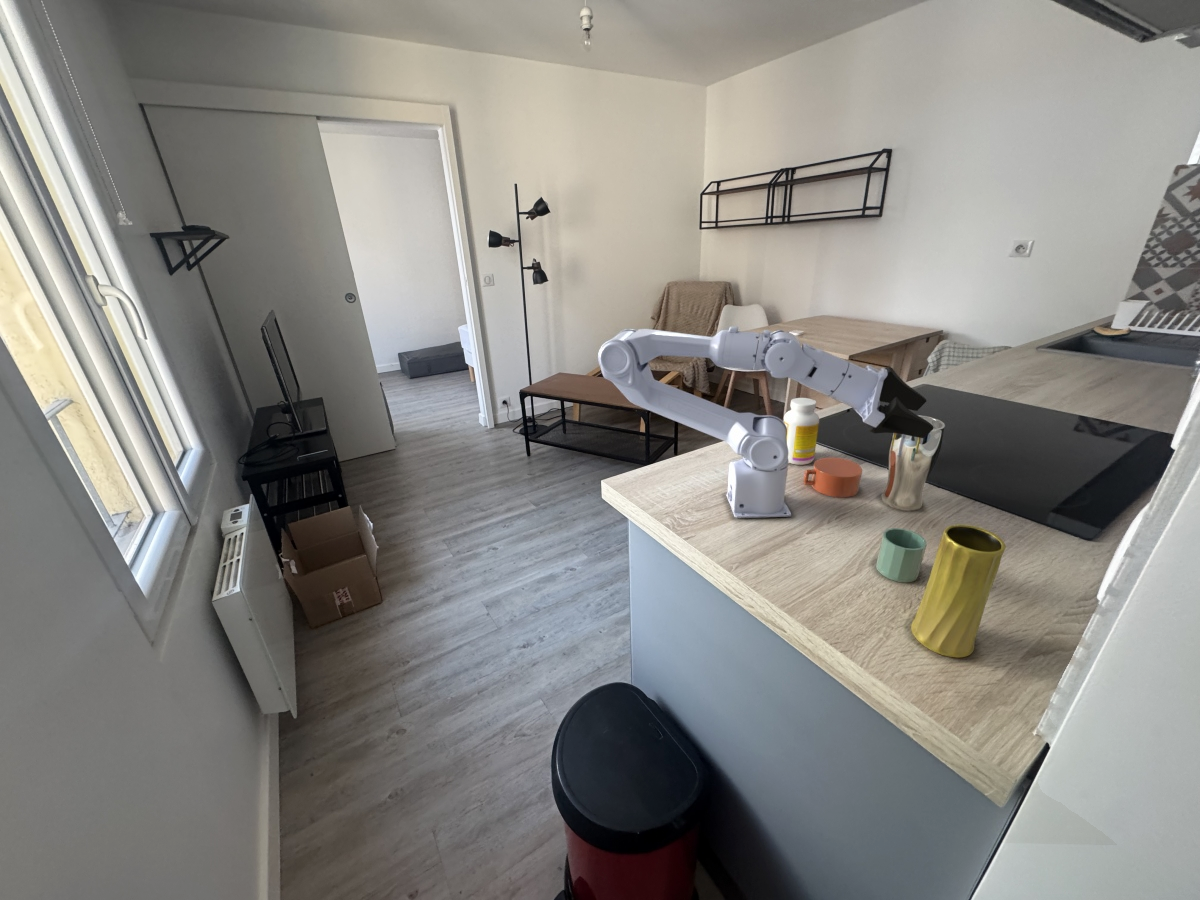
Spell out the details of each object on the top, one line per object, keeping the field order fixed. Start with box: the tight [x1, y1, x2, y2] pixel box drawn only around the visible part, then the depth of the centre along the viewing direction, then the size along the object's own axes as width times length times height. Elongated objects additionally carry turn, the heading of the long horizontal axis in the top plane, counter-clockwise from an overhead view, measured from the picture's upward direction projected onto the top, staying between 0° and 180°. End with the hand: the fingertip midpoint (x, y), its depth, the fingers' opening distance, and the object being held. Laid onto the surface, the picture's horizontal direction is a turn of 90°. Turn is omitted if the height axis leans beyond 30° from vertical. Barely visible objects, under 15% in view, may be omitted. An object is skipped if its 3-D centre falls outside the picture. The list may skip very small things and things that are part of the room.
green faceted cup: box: [875, 527, 928, 583], centre depth 65 cm, size 5×5×6 cm
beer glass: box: [880, 414, 946, 512], centre depth 78 cm, size 7×7×15 cm
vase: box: [910, 524, 1006, 659], centre depth 52 cm, size 6×6×14 cm
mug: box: [802, 456, 863, 498], centre depth 87 cm, size 10×8×4 cm
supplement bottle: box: [783, 397, 820, 466], centre depth 96 cm, size 7×7×13 cm
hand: (924, 418), depth 69 cm, fingers open, 7 cm apart
